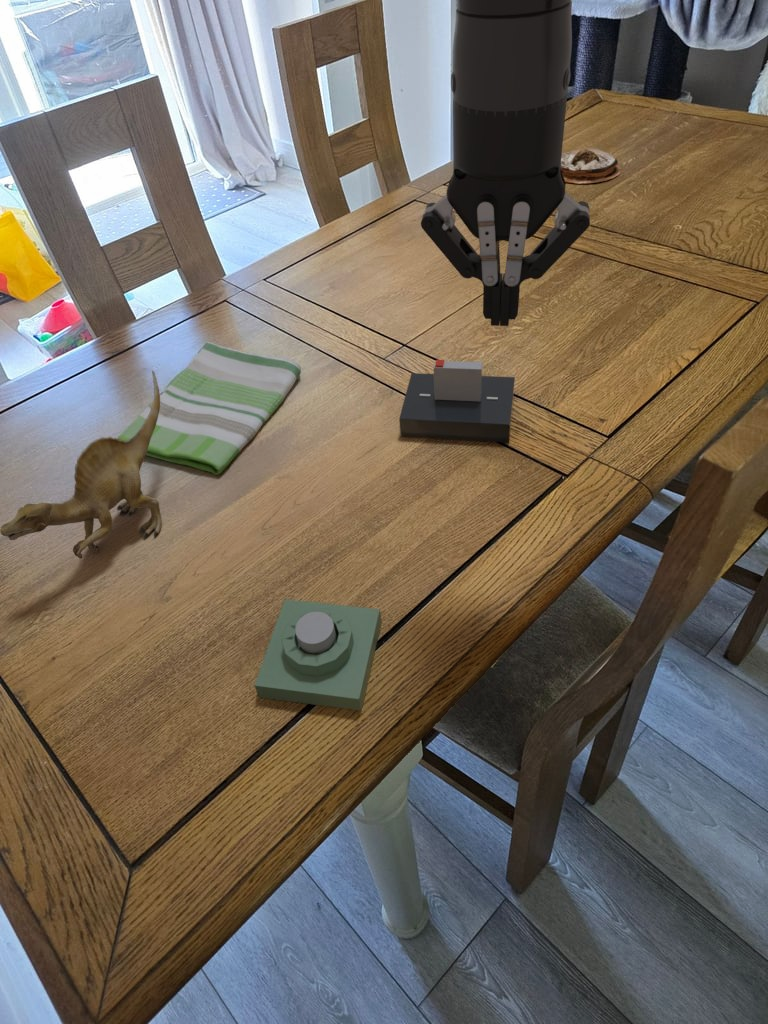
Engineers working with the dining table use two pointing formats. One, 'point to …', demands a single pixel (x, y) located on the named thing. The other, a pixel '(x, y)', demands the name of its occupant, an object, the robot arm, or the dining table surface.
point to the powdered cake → (588, 166)
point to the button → (315, 632)
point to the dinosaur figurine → (98, 489)
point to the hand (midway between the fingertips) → (499, 320)
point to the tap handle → (458, 380)
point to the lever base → (458, 411)
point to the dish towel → (216, 406)
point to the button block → (321, 658)
